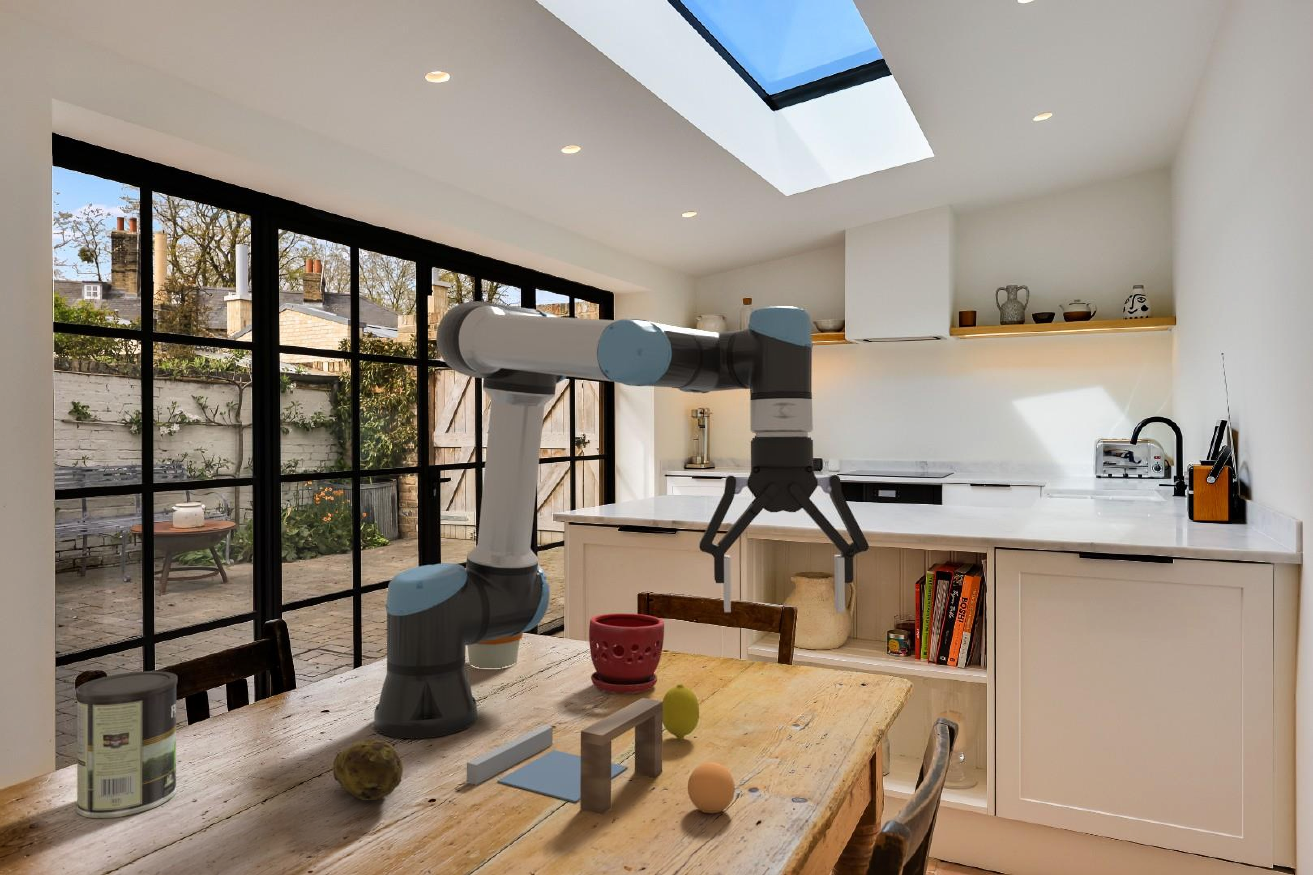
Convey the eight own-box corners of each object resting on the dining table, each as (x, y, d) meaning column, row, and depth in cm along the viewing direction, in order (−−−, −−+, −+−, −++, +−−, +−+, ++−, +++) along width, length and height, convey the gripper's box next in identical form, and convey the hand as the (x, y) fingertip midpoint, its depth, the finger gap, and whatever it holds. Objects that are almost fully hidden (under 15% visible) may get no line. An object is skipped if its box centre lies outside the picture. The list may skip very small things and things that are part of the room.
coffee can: (163, 775, 107) (164, 665, 107) (187, 800, 100) (188, 682, 100) (67, 799, 100) (67, 681, 100) (84, 828, 93) (85, 701, 93)
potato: (403, 776, 107) (403, 713, 107) (402, 820, 95) (402, 749, 95) (334, 783, 105) (334, 719, 105) (323, 829, 93) (324, 757, 93)
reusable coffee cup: (506, 651, 170) (507, 578, 170) (538, 665, 160) (538, 586, 160) (449, 661, 162) (449, 584, 162) (478, 676, 152) (478, 594, 152)
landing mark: (497, 781, 106) (497, 780, 106) (553, 751, 116) (553, 749, 116) (575, 802, 100) (575, 800, 100) (627, 768, 110) (627, 766, 110)
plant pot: (639, 703, 138) (639, 630, 138) (574, 690, 144) (574, 621, 144) (677, 683, 149) (677, 616, 149) (615, 672, 156) (615, 608, 156)
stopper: (466, 782, 106) (466, 762, 106) (543, 742, 120) (543, 724, 120) (476, 784, 105) (476, 764, 105) (552, 744, 119) (552, 726, 119)
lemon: (695, 747, 118) (696, 690, 118) (657, 744, 119) (657, 688, 119) (701, 733, 123) (702, 679, 123) (664, 731, 124) (665, 677, 125)
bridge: (580, 809, 98) (580, 730, 98) (642, 767, 111) (642, 697, 111) (601, 815, 97) (602, 735, 97) (662, 771, 109) (662, 701, 109)
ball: (679, 814, 97) (679, 767, 97) (700, 797, 102) (700, 751, 102) (722, 825, 94) (722, 776, 94) (742, 807, 99) (742, 760, 99)
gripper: (678, 436, 99) (680, 616, 98) (892, 434, 98) (894, 616, 97) (679, 436, 106) (681, 604, 106) (878, 435, 105) (880, 604, 105)
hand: (783, 610), depth 102 cm, fingers open, 13 cm apart
